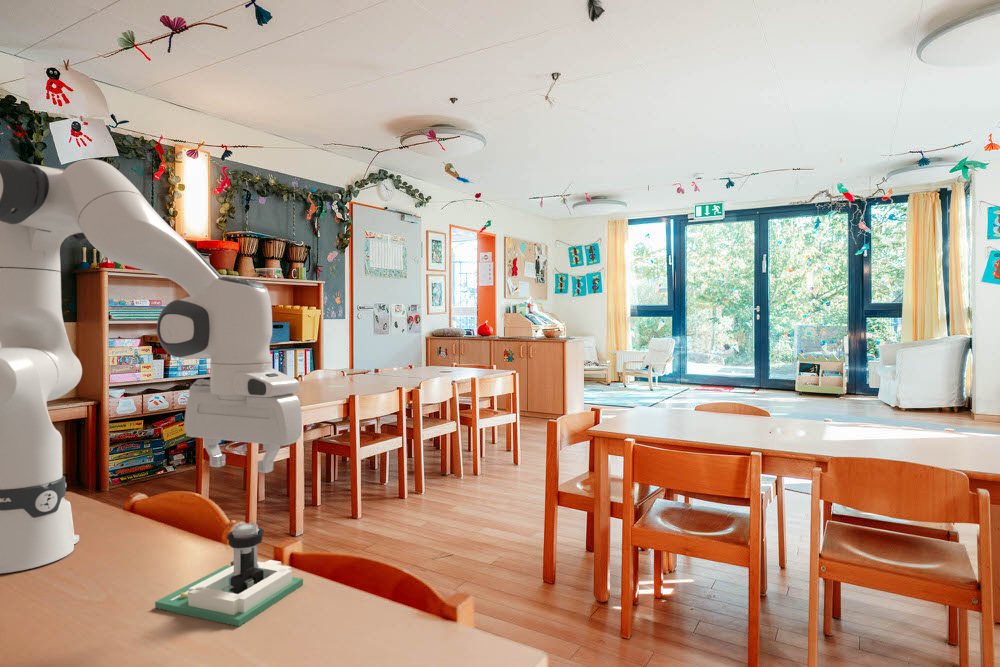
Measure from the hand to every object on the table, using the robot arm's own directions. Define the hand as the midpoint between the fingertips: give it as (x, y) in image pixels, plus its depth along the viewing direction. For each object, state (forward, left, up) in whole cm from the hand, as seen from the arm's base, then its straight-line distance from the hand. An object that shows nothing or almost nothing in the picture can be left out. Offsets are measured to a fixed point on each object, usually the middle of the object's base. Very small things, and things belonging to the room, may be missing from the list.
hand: (241, 469), depth 90 cm
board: (-2, 0, -20) cm, 20 cm away
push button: (0, 0, -20) cm, 20 cm away
